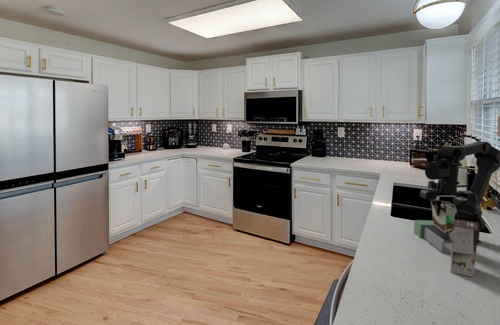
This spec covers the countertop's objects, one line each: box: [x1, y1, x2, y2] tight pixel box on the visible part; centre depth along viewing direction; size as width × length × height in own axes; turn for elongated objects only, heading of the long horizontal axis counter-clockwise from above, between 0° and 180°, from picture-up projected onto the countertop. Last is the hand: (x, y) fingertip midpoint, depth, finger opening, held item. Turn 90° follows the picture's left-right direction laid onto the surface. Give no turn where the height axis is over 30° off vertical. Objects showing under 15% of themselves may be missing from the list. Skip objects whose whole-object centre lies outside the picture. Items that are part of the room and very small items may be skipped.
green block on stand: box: [413, 219, 454, 254], centre depth 122 cm, size 12×21×6 cm, turn 175°
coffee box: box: [449, 219, 479, 278], centre depth 99 cm, size 9×6×16 cm
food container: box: [430, 200, 457, 233], centre depth 118 cm, size 12×6×10 cm, turn 174°
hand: (445, 216), depth 118 cm, fingers closed on food container, 6 cm apart
